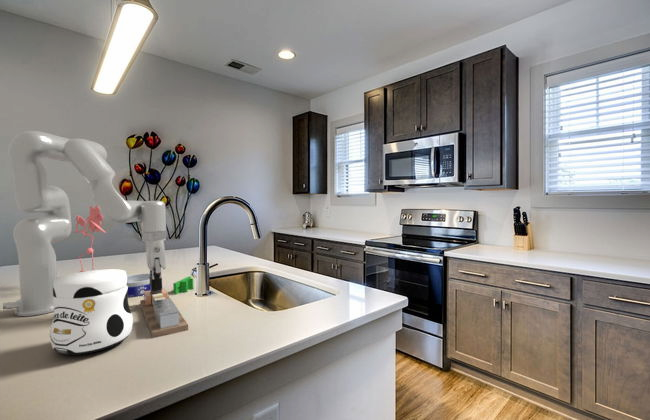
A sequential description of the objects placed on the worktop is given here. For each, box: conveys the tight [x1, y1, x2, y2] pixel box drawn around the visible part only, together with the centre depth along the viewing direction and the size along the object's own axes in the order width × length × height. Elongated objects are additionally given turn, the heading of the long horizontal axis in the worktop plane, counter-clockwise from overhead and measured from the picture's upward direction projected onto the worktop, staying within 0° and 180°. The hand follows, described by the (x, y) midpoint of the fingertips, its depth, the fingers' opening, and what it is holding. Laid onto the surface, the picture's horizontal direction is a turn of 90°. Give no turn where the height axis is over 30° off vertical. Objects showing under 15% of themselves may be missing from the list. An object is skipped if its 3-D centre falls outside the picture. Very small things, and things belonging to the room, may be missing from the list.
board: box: [139, 295, 189, 339], centre depth 104 cm, size 34×9×2 cm, turn 34°
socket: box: [143, 287, 169, 305], centre depth 115 cm, size 7×7×3 cm
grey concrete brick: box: [153, 297, 180, 329], centre depth 97 cm, size 15×5×4 cm, turn 34°
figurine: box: [75, 204, 107, 272], centre depth 146 cm, size 15×26×35 cm, turn 58°
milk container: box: [49, 268, 134, 356], centre depth 84 cm, size 17×17×18 cm
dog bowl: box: [126, 272, 151, 299], centre depth 131 cm, size 15×15×6 cm
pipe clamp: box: [172, 275, 194, 295], centre depth 133 cm, size 11×4×5 cm, turn 173°
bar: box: [149, 272, 165, 304], centre depth 108 cm, size 20×3×10 cm, turn 34°
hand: (155, 288), depth 114 cm, fingers closed on bar, 4 cm apart
